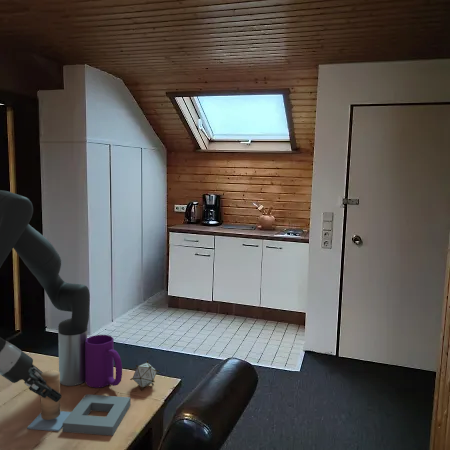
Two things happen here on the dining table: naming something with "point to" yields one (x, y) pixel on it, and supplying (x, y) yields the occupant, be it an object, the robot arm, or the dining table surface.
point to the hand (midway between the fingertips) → (57, 394)
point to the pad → (49, 422)
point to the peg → (49, 406)
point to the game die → (144, 375)
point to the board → (96, 424)
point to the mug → (101, 362)
